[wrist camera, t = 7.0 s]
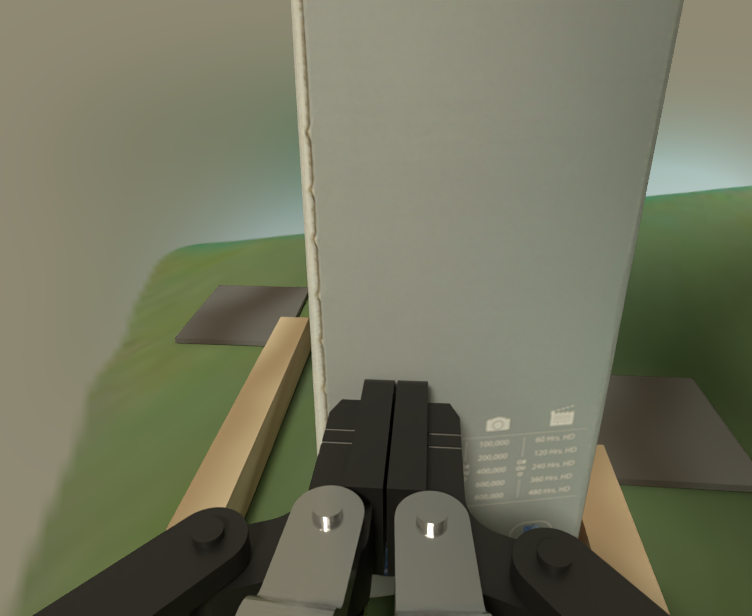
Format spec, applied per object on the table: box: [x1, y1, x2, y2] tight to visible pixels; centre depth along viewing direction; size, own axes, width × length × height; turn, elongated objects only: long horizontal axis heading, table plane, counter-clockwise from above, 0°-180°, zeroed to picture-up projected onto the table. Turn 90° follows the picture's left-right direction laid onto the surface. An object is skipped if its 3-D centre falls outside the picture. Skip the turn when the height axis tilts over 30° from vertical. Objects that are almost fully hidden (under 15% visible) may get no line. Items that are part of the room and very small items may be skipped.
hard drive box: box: [291, 0, 684, 598], centre depth 19 cm, size 16×8×20 cm, turn 6°
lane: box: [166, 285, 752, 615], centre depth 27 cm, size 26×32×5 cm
